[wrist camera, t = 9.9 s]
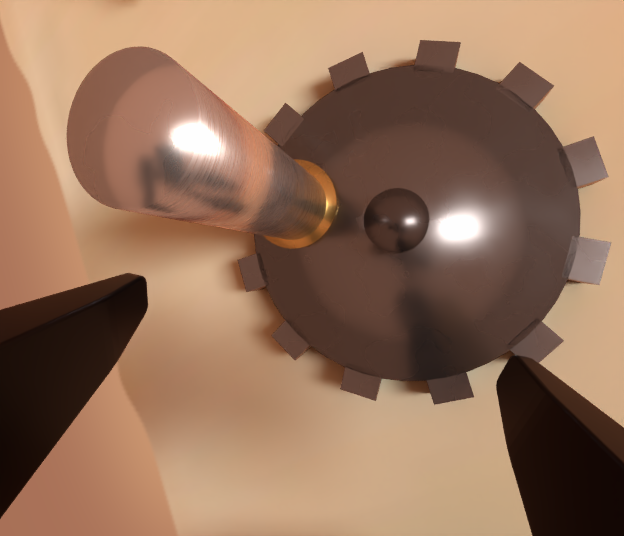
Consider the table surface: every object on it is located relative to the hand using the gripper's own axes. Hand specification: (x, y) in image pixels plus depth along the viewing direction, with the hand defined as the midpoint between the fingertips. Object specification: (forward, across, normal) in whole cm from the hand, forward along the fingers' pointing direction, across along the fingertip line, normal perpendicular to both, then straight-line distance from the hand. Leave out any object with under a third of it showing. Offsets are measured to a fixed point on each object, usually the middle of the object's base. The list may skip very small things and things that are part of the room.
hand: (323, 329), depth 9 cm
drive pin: (+11, +2, +1) cm, 11 cm away
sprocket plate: (+11, -3, +1) cm, 11 cm away
